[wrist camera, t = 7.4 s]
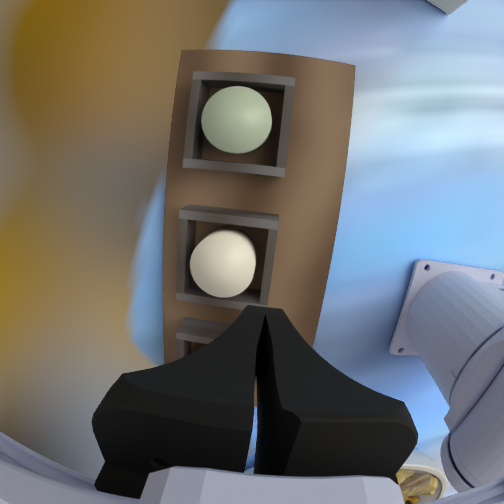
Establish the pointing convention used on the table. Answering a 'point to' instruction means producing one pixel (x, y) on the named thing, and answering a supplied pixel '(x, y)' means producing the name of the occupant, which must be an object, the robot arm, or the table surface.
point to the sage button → (237, 120)
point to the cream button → (224, 262)
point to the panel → (255, 190)
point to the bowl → (417, 479)
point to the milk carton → (448, 4)
